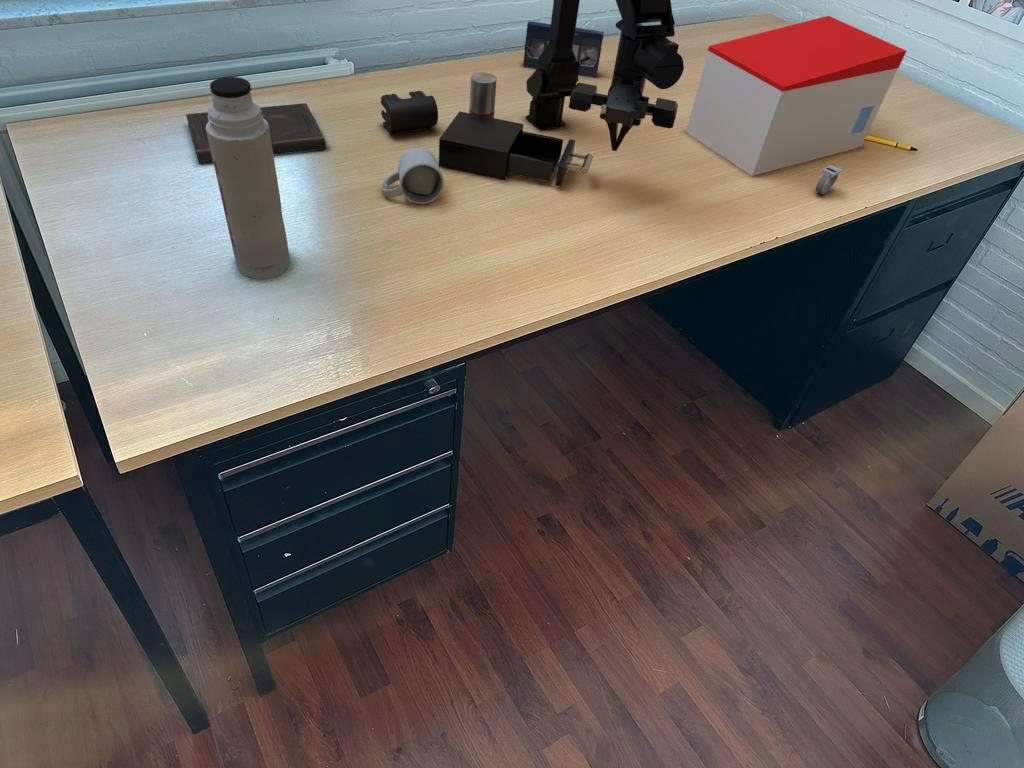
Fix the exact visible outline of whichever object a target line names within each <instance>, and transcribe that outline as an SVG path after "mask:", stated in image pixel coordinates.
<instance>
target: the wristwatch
mask: <svg viewBox="0 0 1024 768" xmlns="http://www.w3.org/2000/svg"><path fill="white" fill-rule="evenodd" d="M842 171H843V170H842V169H841V168H839V167H837V166H834V165H831V164H829V165H827V166H826V167H824V168H822V169H821V170H820V172H821V173H822V175H821V177H819V180H818V181H817V183H816V187H815V192H816V193H818V194H820V195H826V193H828V191H830V189H832V187H833V186H834V184H835V183H836V181H837V179H838V177H839V174H841V173H842Z"/></svg>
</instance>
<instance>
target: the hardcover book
mask: <svg viewBox="0 0 1024 768" xmlns="http://www.w3.org/2000/svg"><path fill="white" fill-rule="evenodd" d="M259 107H260V109H261V110H262V112H261V114H262V115H263V118H264V119H265V120H266V121H267V122H268V125H269V130H270V137H271V143H272V149H273V156H274V155H275V156H276V155H284V154H292V153H300V152H309V151H310V152H311V151H318V150H325V149H326V148H327V146H326V140H325V136H324V135H323V133H322V131H321V128H320V126H319V125H318V123H317V121H316V119H315V118H314V115H313V114H312V112H311V110H310V108H309V106H308V104H307V103H306V102H301V103H293V104H282V105H281V104H280V105H270V106H259ZM185 116H186V119H187V125H188V128H189V132H190V136H191V139H192V143H193V147H194V152H195V154H196V158H197V161H198V163H199V164H205V163H213V159H212V154H211V150H210V145H209V141H208V137H207V132H206V125H207V123H208V122H209V120H208V111H205V112H196V113H195V112H194V113H186V114H185Z"/></svg>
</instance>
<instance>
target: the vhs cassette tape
mask: <svg viewBox="0 0 1024 768" xmlns="http://www.w3.org/2000/svg"><path fill="white" fill-rule="evenodd" d="M550 26H551V23H545V22H536V21H530V20H528V21H527V24H526V35H525V42H524V51H523V64H522V65H523V67H525V68H531V69H536V68H537V63H538V58H539V56H540V55H541V54H542V52H543V51H544V49H545V48H546V47H547V45H548V42H549V34H550ZM604 34H605V33H604V31H603V30H602V31H600V30H595V29H587V28H581V27H576V29H575V36H574V42H573V52H574V54H575V57H576V59H577V61H579V62H580V68H579V73H578V76H584V77H591V78H596V77H597V76H598V71H599V65H600V58H601V54H602V47H603V40H604Z"/></svg>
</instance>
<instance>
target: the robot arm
mask: <svg viewBox="0 0 1024 768" xmlns="http://www.w3.org/2000/svg"><path fill="white" fill-rule="evenodd" d="M580 1H581V0H553V5H552V11H551V19H550V24H551V26H550V34H549V42H548V45H547V47H546V48H545V49H544V51H543V52H542V54H541V55H540V56H539V58H538V63H537V68H535V71H534V72H532V74H531V75H530V76H529V77H528V78H527V80H526V82H525V83H526V92H527V93H528V95H530V96H531V100H530V101H529V110H528V112H529V113H528V114H527V115H526V116H525V119H526V120H527V121H529V122H530V123H531V124H533V125H534V126H535V127H536V128H537V129H538V130H540V131H546V130H551V129H556V128H562V127H566V122H565V121H563V113H564V108H565V107H564V106H565V101H566V97H569V103H568V108H569V109H570V110H572V111H573V110H575V111H578V112H582V113H583V112H585V113H586V112H588V111H589V110H590V109H591V108H592V105H593V106H594V105H595V106H598V107H599V106H600V109H601V111H600V114H599V118H600V119H601V120H604V121H605V123H606V124H607V125H606V126H607V128H608V132H609V140H610V146H611V151H612V152H613V151H614V152H617V151H618V150H619V148H620V146H621V144H622V142H623V140H624V139H625V137H626V136H627V134H628V133H629V132H630V130H631V129H632V128H633V127H639V126H641V122H642V120H645V118H646V116H650V117H651V122H652V124H653V125H654V126H655V127H659V128H663V129H664V128H665V129H668V130H669V129H673V128H674V125H675V121H676V117H677V113H678V107H679V104H678V102H677V101H676V100H671V99H667V98H662V97H657V98H656V101H655V104H654V103H650V102H649V101H650V97H649V96H645V95H643V93H644V91H645V90H644V89H645V85H646V81H648V82H649V83H651V85H653V86H655V87H656V88H658V89H659V90H667V89H669V88H671V87H673V86H674V85H675V84H677V83H678V81H679V80H680V78H681V77H682V75H683V73H684V70H685V66H684V59H683V56H682V55H681V54H679V53H678V51H679V47H680V46H679V43H677V42H675V41H672V40H670V39H669V38H672V37H673V38H674V37H675V33H676V32H675V25H676V22H675V18H674V14H673V9H672V1H671V0H615V3H616V7H617V9H618V11H619V14H620V17H621V19H620V20H619V21H617V22H616V23H615V28H616V29H618V30H619V31H620V36H619V41H618V46H617V51H616V56H615V62H614V67H613V71H612V78H611V82H610V83H611V84H610V86H609V88H608V91H607V94H603V93H598V92H597V91H598V86H597V85H594V84H589V83H584V82H579V75H578V73H579V68H580V62H579V61H577V59H576V57H575V54H574V52H573V42H574V36H575V29H576V28H577V21H578V15H579V7H580V3H581V2H580ZM647 23H649V24H648V25H644V24H647ZM650 23H660V24H650ZM619 124H621V127H620V130H619ZM618 131H619V133H618Z"/></svg>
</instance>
